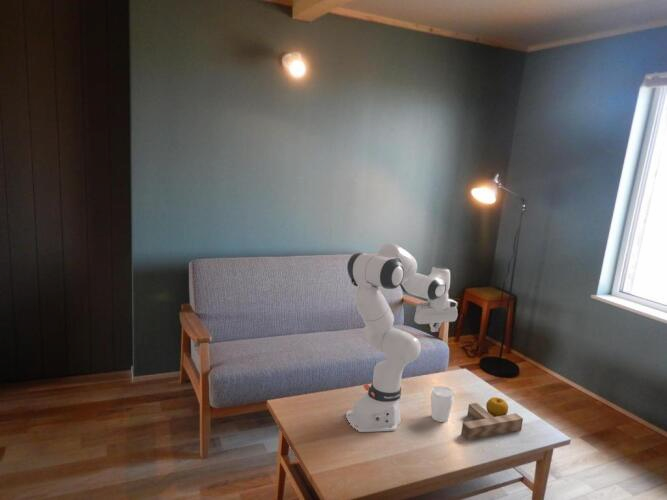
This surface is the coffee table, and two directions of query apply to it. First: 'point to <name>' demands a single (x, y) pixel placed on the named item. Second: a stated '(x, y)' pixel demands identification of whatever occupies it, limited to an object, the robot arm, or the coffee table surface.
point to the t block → (488, 423)
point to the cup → (441, 403)
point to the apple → (497, 407)
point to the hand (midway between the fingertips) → (434, 331)
